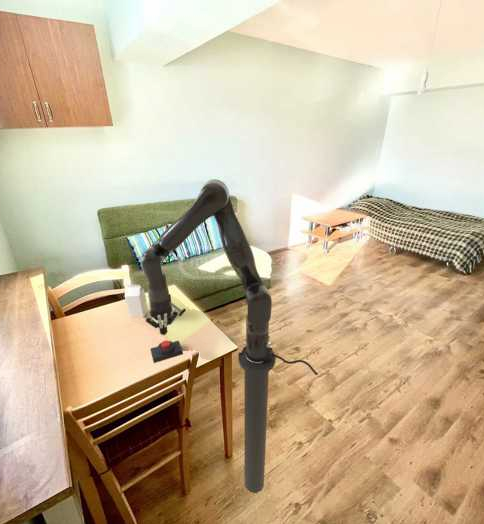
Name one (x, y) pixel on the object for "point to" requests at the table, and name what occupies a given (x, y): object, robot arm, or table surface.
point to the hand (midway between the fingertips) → (164, 333)
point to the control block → (166, 352)
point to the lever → (178, 309)
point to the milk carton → (136, 301)
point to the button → (165, 344)
